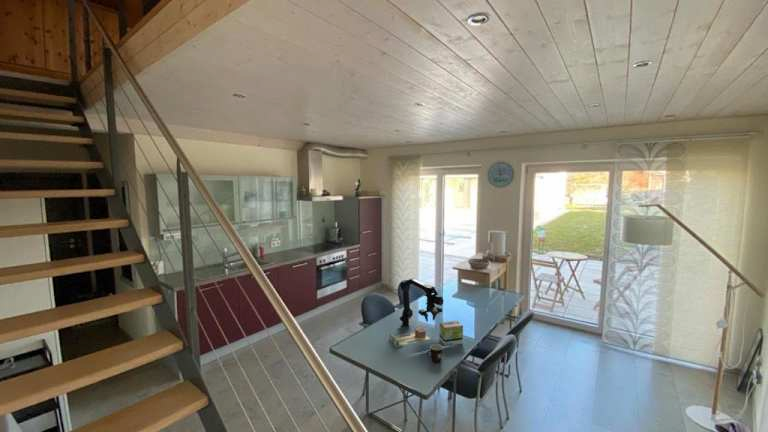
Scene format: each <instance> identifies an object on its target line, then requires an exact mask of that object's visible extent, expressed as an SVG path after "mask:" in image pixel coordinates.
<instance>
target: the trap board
mask: <svg viewBox="0 0 768 432" xmlns="http://www.w3.org/2000/svg"><path fill="white" fill-rule="evenodd" d="M406 335H407V336H406ZM389 340H390V341H391V343H392V344H393V345H394V346H395V347H396V348H397V349H400V348H403V346H406V345H410V344H414V343H419V342H423V341H428V340H431V338H430V337H429V336H428V335H427V334H426V337H423V338H418V337H417V336H416V335H415V331H414V332H407V333H404V334H403V336H402V334H398V335H394V334H392V333H391V332H390V333H389ZM412 341H414V342H412Z"/></svg>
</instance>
